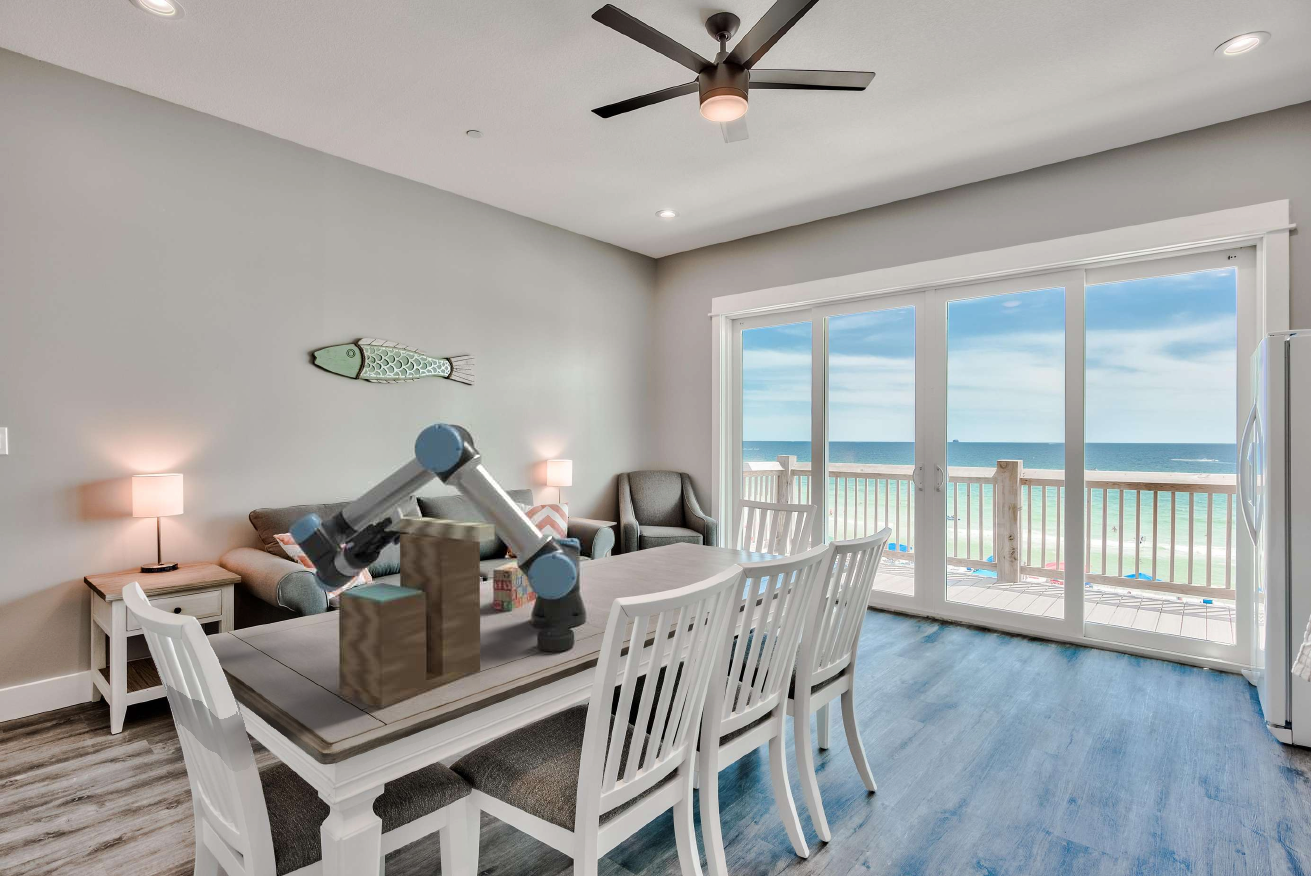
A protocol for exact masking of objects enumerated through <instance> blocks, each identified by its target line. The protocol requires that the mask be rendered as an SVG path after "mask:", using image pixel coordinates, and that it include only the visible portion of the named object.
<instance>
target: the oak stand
mask: <svg viewBox="0 0 1311 876" xmlns="http://www.w3.org/2000/svg"><path fill="white" fill-rule="evenodd" d="M480 547H481V546H480V542H477V541H469V540H461V539H454V538H446V537H438V536H431V535H423V534H415V533H409V534H402V535H400V542H399V564H400V565H399V582H400V583H399V584H400V585H395V584H391V583H386V582H385V583H384V582H382V583H378V584H372V585H368V586H363V587H359V588H354V589H348V590H345V591H342V592H341V593H339V594H338V619H339V620H338V636H339V639H338V641H339V644H338V647H339V649H338V650H339V651H338V653H339V656H338V657H339V659H338V661H339V666H338V667H339V669H338V670H339V694H341V695H343V696H344V697H347V698H350V699H353V700H355V701H358V702H361V703H364V704H365V705H369V706H371V707H375V708H376V709H379V710H385V709H386V708H389V707H392V706H394V705H396V704H400V703H402V702H405V701H406V700H409V699H412V698H415V697H418V696H420V695H422V694H424V693H428V692H430V691H432V690H435V689H438V688H440V687H442V686H445V685H448V684H450V683H453V682H456V681H457V680H460V679H463V678H466V677H468V676H471V675H474V674H476V673H478V672H481V591H480V589H481V584H480V583H481V580H480V579H481V576H480V575H481V569H480V566H481V563H480V562H481V561H480V560H481V557H480V555H481V552H480V551H481V550H480Z"/></svg>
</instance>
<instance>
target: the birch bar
mask: <svg viewBox="0 0 1311 876" xmlns="http://www.w3.org/2000/svg"><path fill="white" fill-rule="evenodd" d="M389 515H390V514H384V515H382V516H379V518H378V520H379V521H378V522H382V521H383V520H384V519H385V518H386V517H388V516H389ZM403 517H404V519H403V520H402V521H401V522H399V523H398V524H397V525H396V526H395V527H393V528H392V529H391V530H392V531H400V532H408V533H415V534H423V535H431V536H438V537H446V538H454V539H461V540H469V541H477V542H486V541H491V540H495V531H494V525H491V524H488V523H483V522H482V523H480V522H471V521H463V520H452V519H443V518H433V517H423V516H422V517H416V516H407V515H405V514H403Z"/></svg>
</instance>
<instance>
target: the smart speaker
mask: <svg viewBox="0 0 1311 876" xmlns="http://www.w3.org/2000/svg"><path fill="white" fill-rule="evenodd" d="M574 646H575V632H574V630H572V629H571V628H570V627H569V628H566V627H551V628H542V630H539V632H538V633H537V647H538V649H539V650H541V651H543V652H547V653H559V652H560V653H561V652H564V651H568V650H570V649H571V648H573V647H574Z"/></svg>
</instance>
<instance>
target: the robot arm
mask: <svg viewBox="0 0 1311 876" xmlns="http://www.w3.org/2000/svg"><path fill="white" fill-rule="evenodd" d="M414 455H415V457H414V458H413V459H412V460H410V461H408V462H407V463H406V464H404V465H403V466H401V467H400V468H398V469H397V470H396V471H395V472H393V473H392V474H390V475H389V476H388V477H386V478H385V479H384V480H382V481H380V482H379V483H377V485H375V486H373V487H372V488H371V489H369V490H368V491H366V492H365V493H363V495H361V496H360V497H358V498H356V499H355V500H354V501H352V502H351V503H350V504H348V505H346V506H345V507H344V508H342V509H341V510H340V511H338V512H337V513H335V514H334V515H332V516H331V517H330V518H327V519H325V520H323V519H322V518H321V517H320V516H318V514H316V513H311V514H308V515H306V516H304V517H302V518H300V519H299V520H297V521H296V522H295V523H293V524H292V525H291V526H290V528H289V530H288V532H289V535H290V536H291V538H292V539H293V540H294V543H295V544H296V545H297V546H298V547H299V548H300V550H301V551H302V552H303V554H305V557H307V559H308V560H309V561H310V563H311V564H312V565H313V567H314V569H315V570H316V571H315V572H314V576H313V577H314V581H315V585H317V587H318V588H320V590H322V591H326V592H336V591H338V590H340V589H341V588H343V587H344V586H346V585H347V584H349V583H350V582H351V581H352V580H353V579H354V578H356V577H359V576H360V573H362V572H363V571H364V570H366V569H367V568H368V567H370V566H371V565H372V564H374V563H375V562H376V561H377V560H378V559H379V557H380V554H381V552H382V551H383V550H384V548H386V547H387V546H389V545H390V544H392V545H394V546H398V545H400V535H402V534H409V533H408V532H400V531H392V530H391V529H392V528H393V527H395V526H396V525H397V524H398V523H399V522H401V521H402V520H403V519H404V517H403V515H407V516H416V517H423V516H422V513H421V510H420V509H421V508H420V507H419V505H415V506H414V507H413V508H412V509H410V510H409V511H408V512H406V513H405V514H403V511H402V507H397V508H396V509H394V511H391V510H392V509H393V508H395V507H396V506H398V505H399V504H400V503H402V502H403V501H405V500H406V499H408V498H409V497H410V496H412V495H413V494H415V493H416V492H417V491H419V490H420V489H422V488H423V487H424V486H425V485H427V484H429V483H430V482H432V481H433V480H435V478H438V479H439V480H440V481H441V482H442V483H443V485H444V486H451V487H454V488H456V490H457V491H458V492H459V493H460V494H461V495H462V497H463V498H465V500H466V501H467V502H468V503H469V505H470V506H471V507H472V508H473V509H474V510H475V511H476V513H478V514H479V516H480V517H481V518H482V519H483V520H484V521H485V523H486V524H491V525H494V533H496V535H497V536H498V537H499V538H500V539H501V541H502V542H503V543H504V544H505V545H506V547H508V548H509V550H510V551H511V552H512V553H513V554H514V555H515V556H516V561H517V566H518V568H519V569H520V570H521V571H522V572H523V573H524V575H525V576H526V577H527V578H528V582H529V584H530V587H531V588H532V590H533V591H534V592H535V593H536V594H537V598H536V599H535V601H534V603H533V608H532V611H531V614H530V623H531V624H532V625H533V626H534V627H537V628H542V629H546V628H551V627H566V628H569V629H570V628H574V627H577V626H581V625H583V624H584V623H586V622H587V610H586V608H585V607H586V606H585V604H584V602H583V601H584V600H583V598H582V594H581V588H580V587H581V585H580V584H581V578H580V577H581V563H580V562H581V556H580V555H581V554H580V551H581V546H580V540H579V539H578V538H577V537H576V538H573V537H570V538H569V537H559V538H557V537H555V536H554V535H552V534H545V533H543V532H542V531H541V530H540V529H539V527H537V525H536V524H535V523H534V522H533V521H532V520H531V518H530V517H529V516H528V515H527V514H526V513H525V512H524V511H523V510H522V508H521V507H520V506H519V505H518V504H517V503H516V502H515V500H513V498H512V497H511V496H510V495H509V493H507V491H506V490H505V489H504V488H503V487H502V486H501V485H500V484H499V482H497V480H496V479H495V478H494V477H493V476H492V474H491V473H489V470H487V469H486V468H485V466H484V465H482V454H481V453H480V452H479V451H478V450H477V449H476V447H475V443H474V438H473V437H472V435H471V433H470V432H469V431H468V430H467V429H465V427H462V426H461V425H457V424H447V423H442V422H441V423H436V424H433V425H430V426H429V425H428V427H426V428H424V429H423V430H421V432H420V433H419V434H418V436H417V438H416V440H415V442H414ZM389 511H391V513H390V514H388V515H389V516H388V517H386V518H385V519H384V520H383V521H382V522H379V521H378V522H376V524H375V525H374V524H373V523H374V522H375V521H376V520H379V516H383V515H386V514H387V513H388V512H389ZM344 544H345V545H344ZM342 545H344V546H343V547H342Z"/></svg>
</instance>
